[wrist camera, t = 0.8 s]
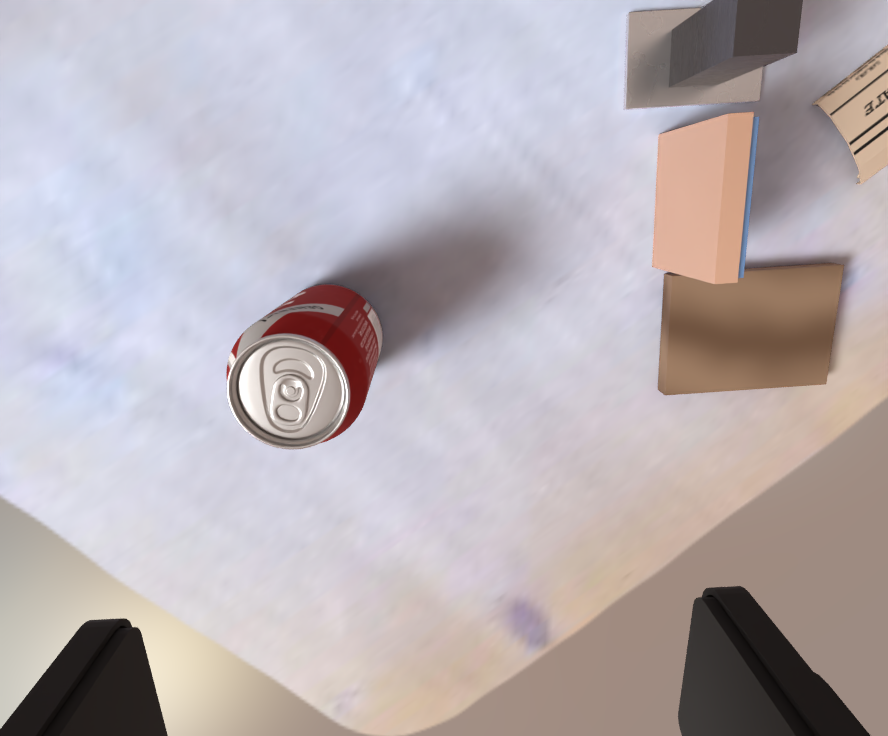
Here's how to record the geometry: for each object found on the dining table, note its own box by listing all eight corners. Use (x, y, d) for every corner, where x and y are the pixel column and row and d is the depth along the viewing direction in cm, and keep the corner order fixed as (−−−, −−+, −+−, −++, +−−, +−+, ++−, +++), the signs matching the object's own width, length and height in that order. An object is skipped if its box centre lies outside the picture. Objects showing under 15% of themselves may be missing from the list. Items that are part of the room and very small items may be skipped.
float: (626, 15, 31) (685, -42, 24) (763, 7, 31) (863, -52, 24) (623, 110, 33) (678, 83, 26) (754, 102, 33) (846, 73, 26)
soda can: (391, 293, 35) (374, 335, 24) (375, 389, 37) (352, 472, 26) (286, 273, 35) (217, 307, 23) (275, 372, 37) (207, 449, 25)
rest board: (664, 273, 35) (672, 276, 34) (830, 263, 36) (844, 265, 34) (657, 389, 38) (665, 395, 37) (813, 378, 38) (826, 384, 37)
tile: (658, 134, 33) (728, 113, 25) (684, 132, 33) (762, 111, 25) (651, 266, 35) (714, 284, 28) (676, 265, 35) (745, 282, 28)
